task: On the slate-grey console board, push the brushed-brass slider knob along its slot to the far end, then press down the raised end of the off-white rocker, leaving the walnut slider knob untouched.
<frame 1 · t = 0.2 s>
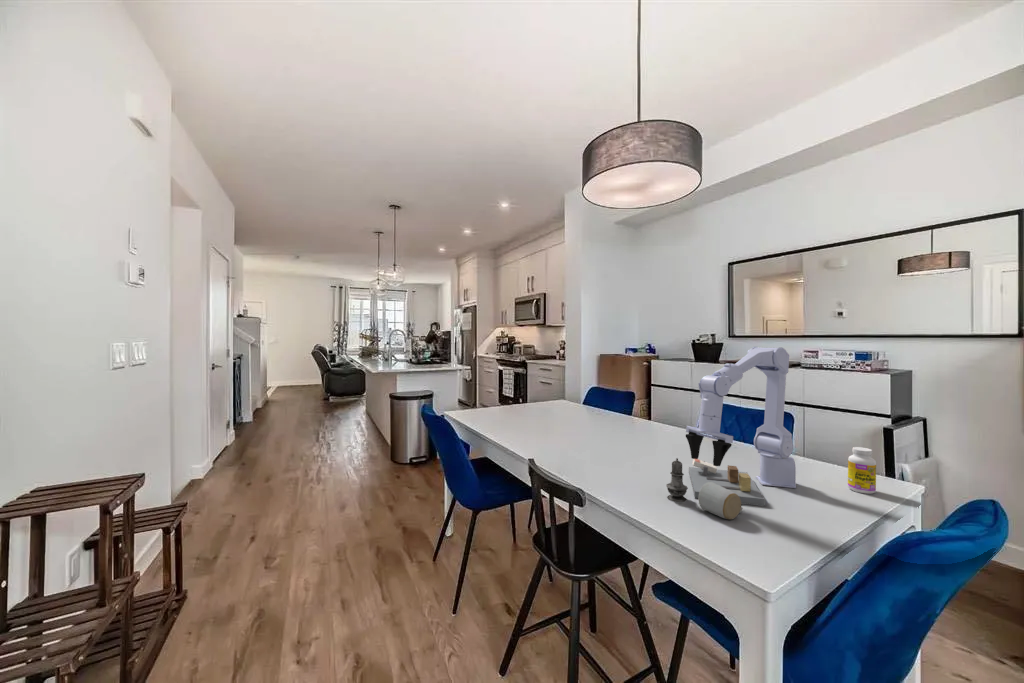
hand: (705, 462, 123), 10 cm above the table, tool pointing down, fingers open, 7 cm apart
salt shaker: (676, 499, 122), on the table
brass knob: (744, 482, 124), point 4 cm above the table, slide at 0.0 cm
rocker: (704, 465, 140), point 4 cm above the table, hinge at -15.0°
ceramic mug: (722, 514, 112), on the table
walnut knob: (732, 474, 131), point 4 cm above the table, slide at 2.0 cm
console: (722, 487, 131), on the table
supplement bottle: (861, 491, 128), on the table
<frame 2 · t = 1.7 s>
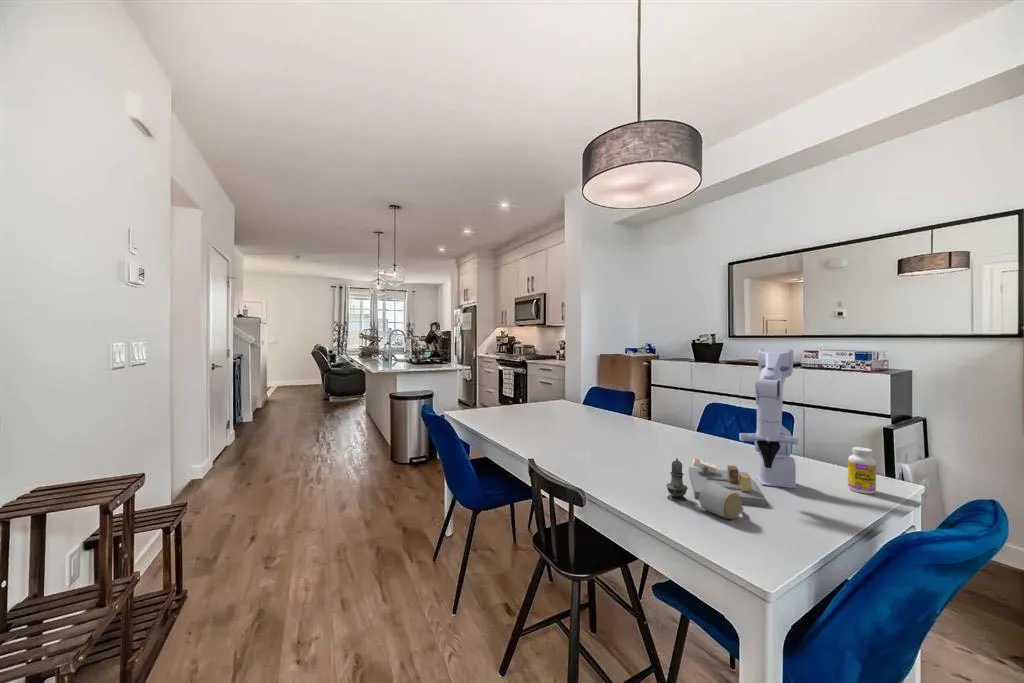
hand: (767, 467, 122), 9 cm above the table, tool pointing down, fingers closed
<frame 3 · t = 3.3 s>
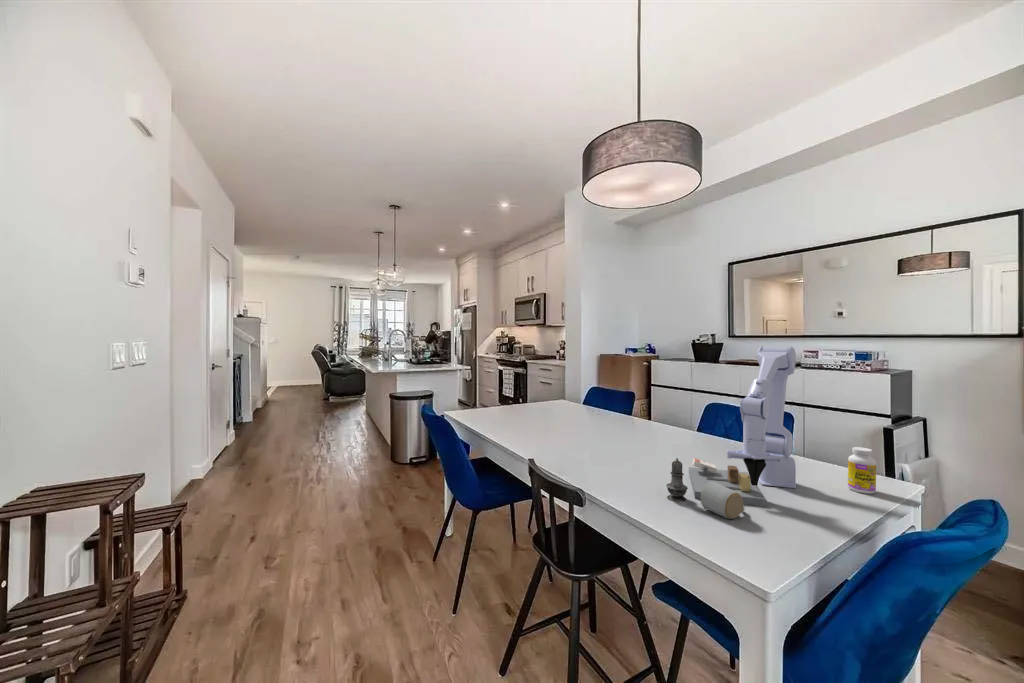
hand: (754, 484, 123), 4 cm above the table, tool pointing down, fingers closed
brass knob: (744, 482, 124), point 4 cm above the table, slide at 0.1 cm, touching gripper
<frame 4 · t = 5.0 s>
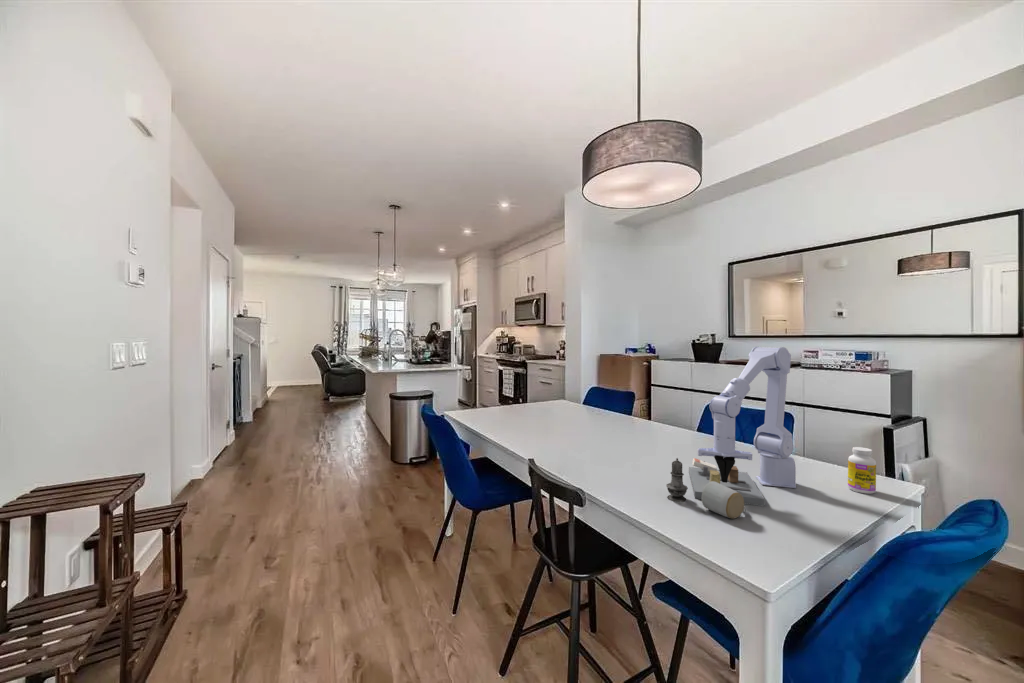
hand: (724, 481, 125), 4 cm above the table, tool pointing down, fingers closed
brass knob: (714, 479, 126), point 4 cm above the table, slide at 8.0 cm, touching gripper
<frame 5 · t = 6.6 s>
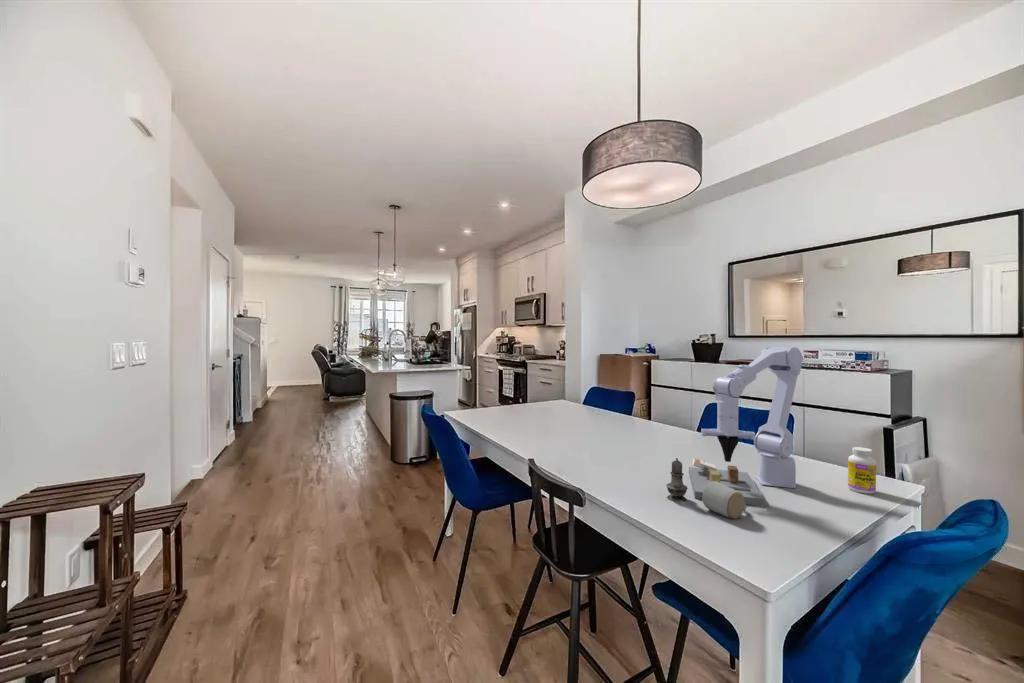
hand: (727, 460, 128), 9 cm above the table, tool pointing down, fingers closed
brass knob: (714, 479, 126), point 4 cm above the table, slide at 8.0 cm
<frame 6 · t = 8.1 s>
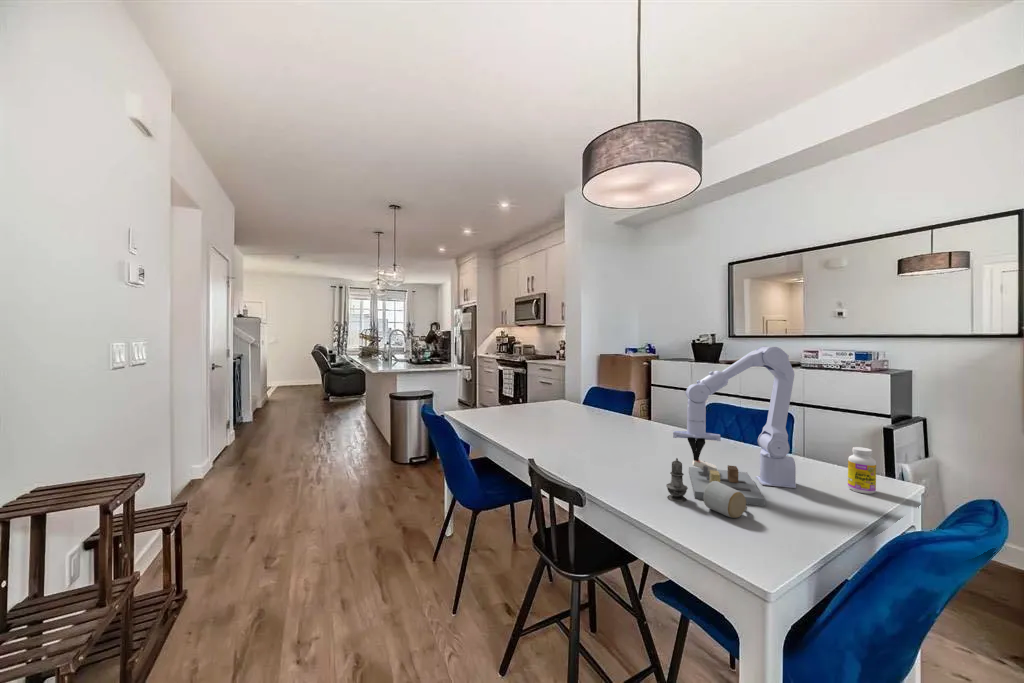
hand: (695, 460, 140), 6 cm above the table, tool pointing down, fingers closed, pressing on rocker
rocker: (704, 465, 140), point 4 cm above the table, hinge at -15.0°, touching gripper
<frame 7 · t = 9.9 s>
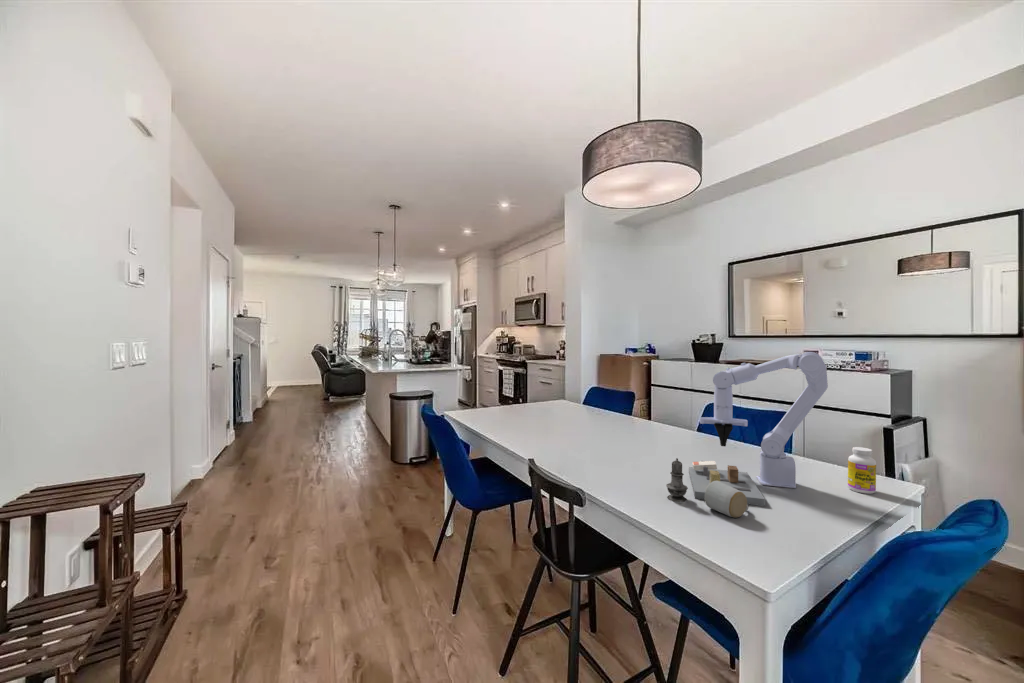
hand: (723, 445, 143), 10 cm above the table, tool pointing down, fingers closed
rocker: (704, 465, 140), point 4 cm above the table, hinge at 8.3°
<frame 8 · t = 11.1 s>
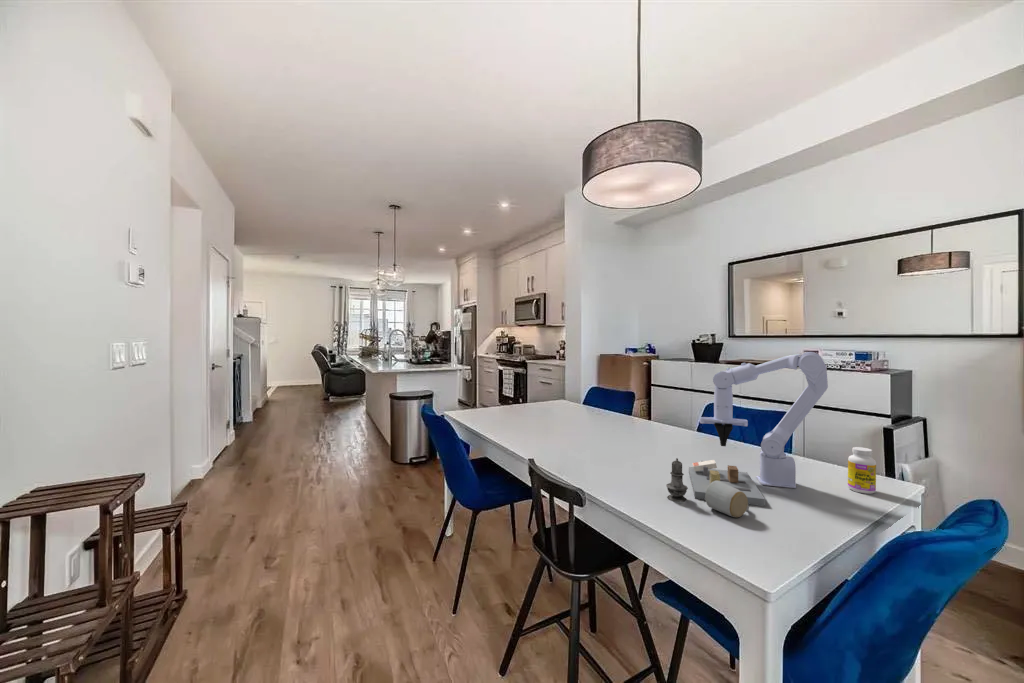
hand: (723, 445, 144), 10 cm above the table, tool pointing down, fingers closed
rocker: (704, 465, 140), point 4 cm above the table, hinge at 14.9°
at the end: brass knob slide at 8.0 cm; rocker at +16° (first picture: -15°); walnut knob slide at 2.0 cm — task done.
